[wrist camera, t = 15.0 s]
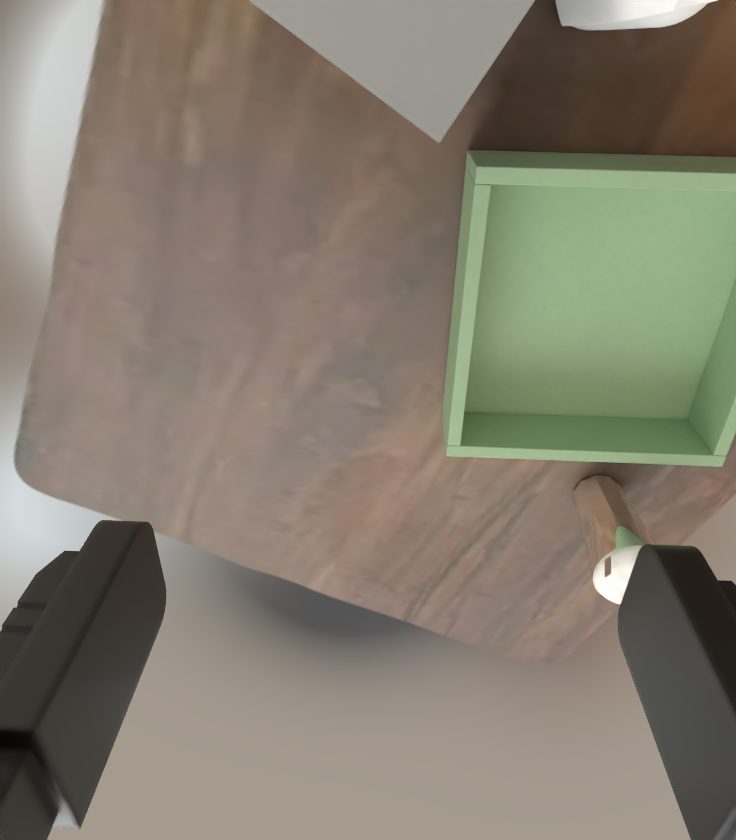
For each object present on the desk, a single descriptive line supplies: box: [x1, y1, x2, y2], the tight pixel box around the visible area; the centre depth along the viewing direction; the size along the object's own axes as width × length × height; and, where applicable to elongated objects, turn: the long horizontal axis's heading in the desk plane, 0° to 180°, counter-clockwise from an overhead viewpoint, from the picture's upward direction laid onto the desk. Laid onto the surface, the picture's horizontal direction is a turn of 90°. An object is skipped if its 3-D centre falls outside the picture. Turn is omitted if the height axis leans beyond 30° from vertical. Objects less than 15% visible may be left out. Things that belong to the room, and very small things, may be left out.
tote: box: [442, 150, 736, 467], centre depth 35 cm, size 17×17×5 cm
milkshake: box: [573, 475, 658, 604], centre depth 40 cm, size 4×5×10 cm
